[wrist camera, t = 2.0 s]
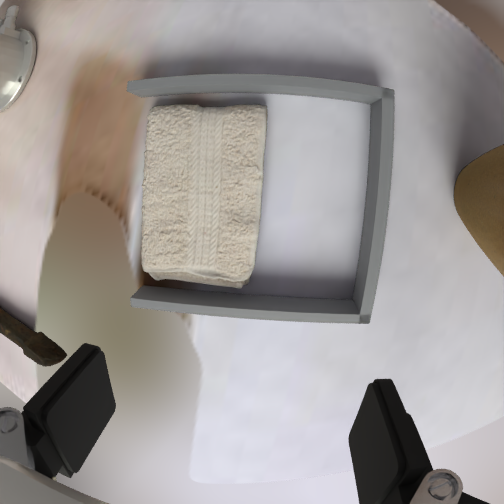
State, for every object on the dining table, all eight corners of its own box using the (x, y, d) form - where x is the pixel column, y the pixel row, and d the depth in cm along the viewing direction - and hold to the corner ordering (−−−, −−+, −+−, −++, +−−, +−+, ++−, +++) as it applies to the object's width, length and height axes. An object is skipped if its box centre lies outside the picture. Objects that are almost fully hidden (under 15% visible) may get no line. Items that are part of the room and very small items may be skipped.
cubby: (142, 88, 27) (127, 81, 24) (382, 96, 26) (394, 89, 23) (143, 293, 34) (131, 306, 30) (361, 308, 32) (369, 323, 29)
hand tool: (-12, 309, 38) (-29, 320, 33) (-13, 290, 37) (-31, 301, 32) (68, 365, 39) (53, 382, 34) (69, 346, 38) (52, 363, 33)
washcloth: (149, 272, 34) (138, 282, 31) (152, 107, 28) (140, 102, 26) (256, 283, 33) (254, 295, 30) (269, 107, 28) (268, 101, 25)
